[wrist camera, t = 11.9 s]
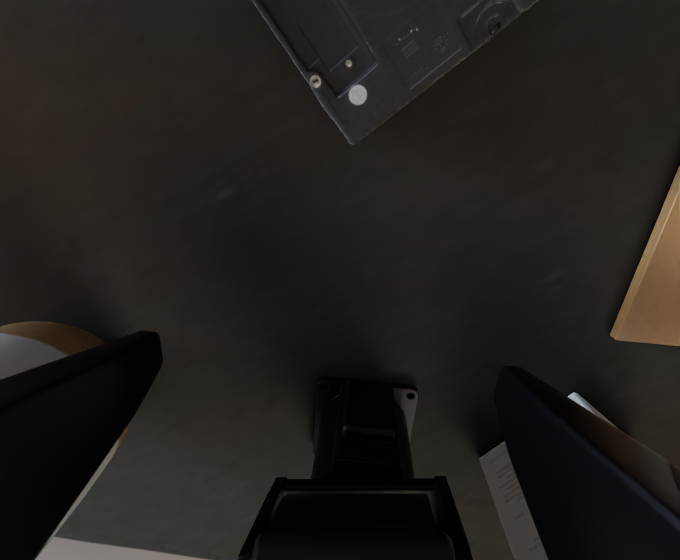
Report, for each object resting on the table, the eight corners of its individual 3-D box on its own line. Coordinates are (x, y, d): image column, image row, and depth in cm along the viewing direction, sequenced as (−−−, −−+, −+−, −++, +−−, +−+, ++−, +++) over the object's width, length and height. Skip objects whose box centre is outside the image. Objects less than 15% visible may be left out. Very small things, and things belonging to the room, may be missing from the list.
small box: (536, 501, 26) (688, 826, 13) (475, 457, 24) (583, 768, 12) (637, 441, 23) (940, 777, 11) (575, 387, 22) (837, 698, 10)
